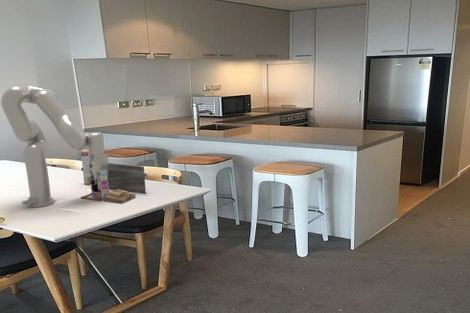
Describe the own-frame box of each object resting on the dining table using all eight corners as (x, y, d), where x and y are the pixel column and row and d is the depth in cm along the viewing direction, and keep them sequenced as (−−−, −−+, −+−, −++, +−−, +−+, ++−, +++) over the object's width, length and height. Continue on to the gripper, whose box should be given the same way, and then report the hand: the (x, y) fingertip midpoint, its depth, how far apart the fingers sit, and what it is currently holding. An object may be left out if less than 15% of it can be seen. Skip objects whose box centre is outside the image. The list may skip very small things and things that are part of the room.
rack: (121, 206, 200) (118, 175, 197) (81, 200, 211) (77, 171, 208) (145, 195, 218) (143, 166, 214) (107, 190, 228) (105, 162, 225)
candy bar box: (110, 200, 211) (107, 169, 208) (101, 202, 208) (98, 171, 204) (100, 195, 219) (97, 166, 215) (91, 197, 215) (88, 168, 212)
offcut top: (118, 198, 203) (118, 194, 203) (108, 195, 208) (108, 192, 207) (128, 195, 208) (127, 191, 208) (117, 192, 212) (117, 189, 212)
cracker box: (110, 182, 246) (107, 148, 241) (106, 185, 240) (103, 150, 236) (88, 182, 247) (85, 148, 243) (83, 185, 241) (80, 150, 237)
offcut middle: (120, 202, 203) (119, 198, 203) (106, 200, 207) (106, 196, 207) (129, 198, 209) (129, 194, 209) (116, 196, 213) (116, 192, 213)
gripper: (90, 160, 199) (93, 195, 203) (114, 153, 215) (117, 186, 218) (78, 159, 202) (82, 193, 206) (103, 152, 218) (106, 184, 221)
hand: (100, 189), depth 212 cm, fingers closed on candy bar box, 6 cm apart
